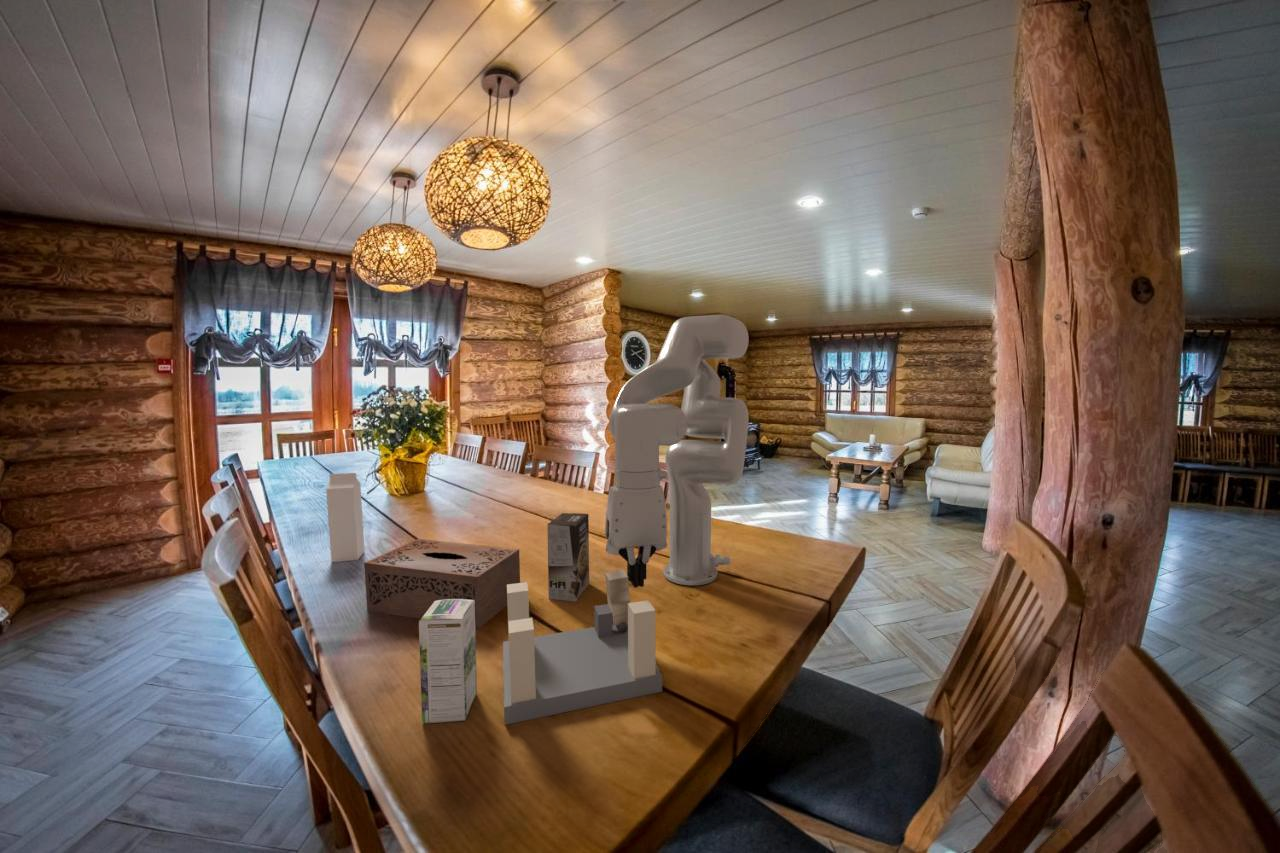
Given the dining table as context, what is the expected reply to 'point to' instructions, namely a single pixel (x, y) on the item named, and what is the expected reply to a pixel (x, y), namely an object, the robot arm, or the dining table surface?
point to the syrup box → (448, 660)
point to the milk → (345, 517)
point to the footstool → (576, 661)
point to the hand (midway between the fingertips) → (636, 583)
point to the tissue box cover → (441, 578)
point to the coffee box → (568, 556)
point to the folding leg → (618, 598)
